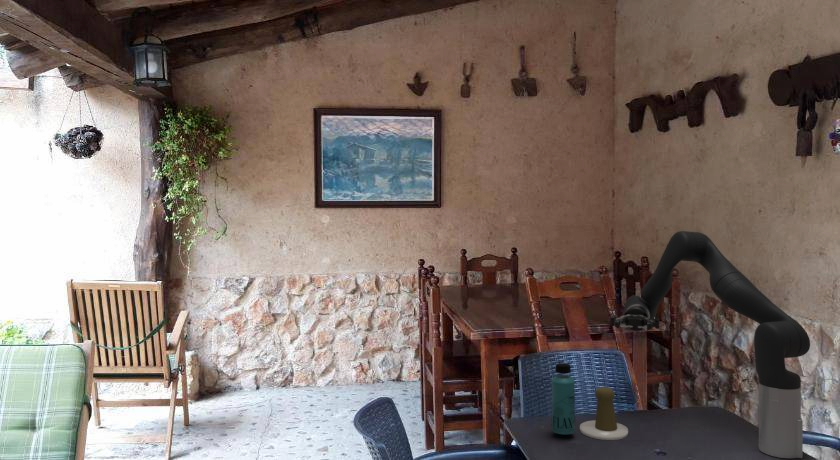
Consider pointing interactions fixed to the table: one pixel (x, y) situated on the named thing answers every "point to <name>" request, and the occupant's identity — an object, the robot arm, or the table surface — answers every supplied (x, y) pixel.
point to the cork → (605, 409)
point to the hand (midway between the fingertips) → (633, 325)
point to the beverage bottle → (563, 401)
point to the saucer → (603, 431)
